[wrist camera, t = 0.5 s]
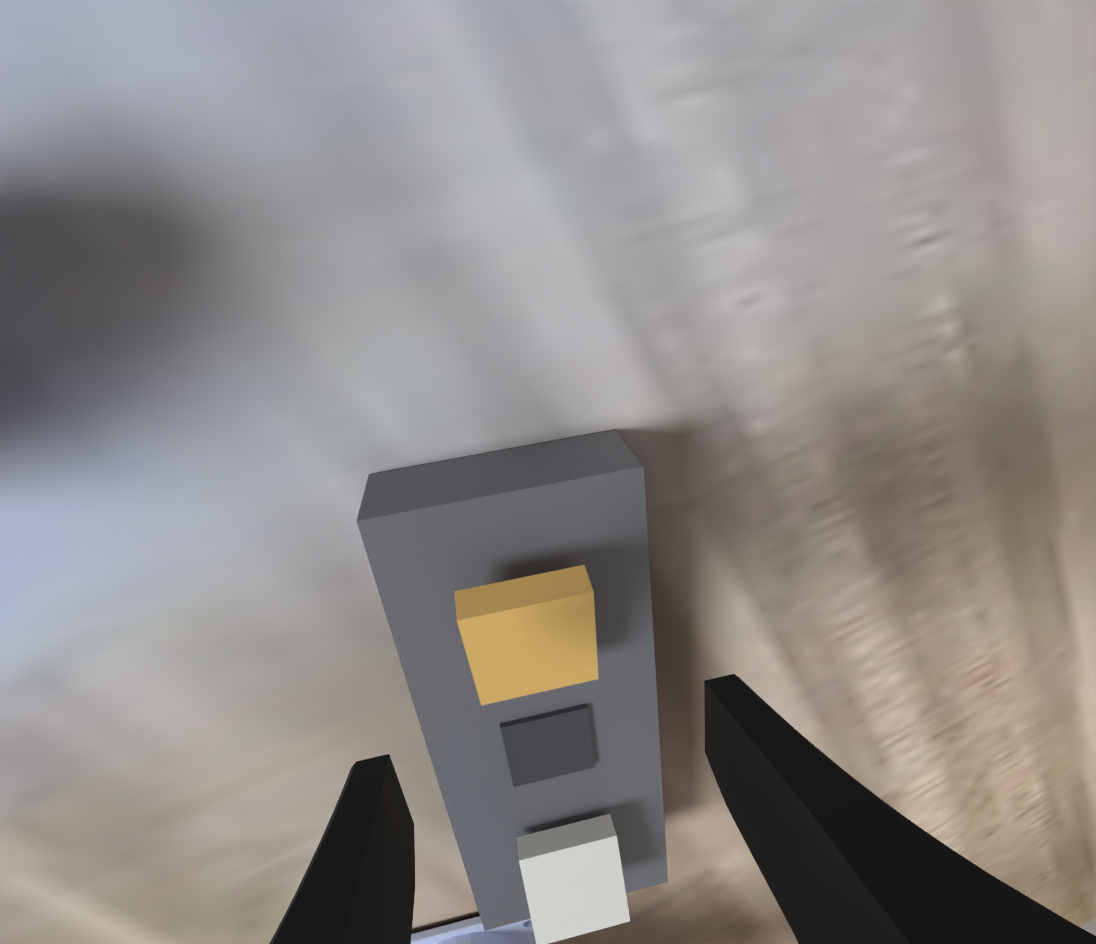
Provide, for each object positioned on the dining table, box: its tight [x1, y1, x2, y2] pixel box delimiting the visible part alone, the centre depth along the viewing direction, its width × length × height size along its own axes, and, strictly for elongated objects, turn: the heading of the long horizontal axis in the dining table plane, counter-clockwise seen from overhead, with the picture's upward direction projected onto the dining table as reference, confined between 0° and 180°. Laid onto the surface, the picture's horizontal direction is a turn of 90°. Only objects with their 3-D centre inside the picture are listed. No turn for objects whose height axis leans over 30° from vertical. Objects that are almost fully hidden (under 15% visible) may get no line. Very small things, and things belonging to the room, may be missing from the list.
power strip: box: [357, 430, 668, 931], centre depth 22 cm, size 23×8×3 cm, turn 7°
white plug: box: [516, 814, 630, 944], centre depth 22 cm, size 4×4×1 cm
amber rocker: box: [454, 565, 599, 706], centre depth 17 cm, size 4×4×1 cm
